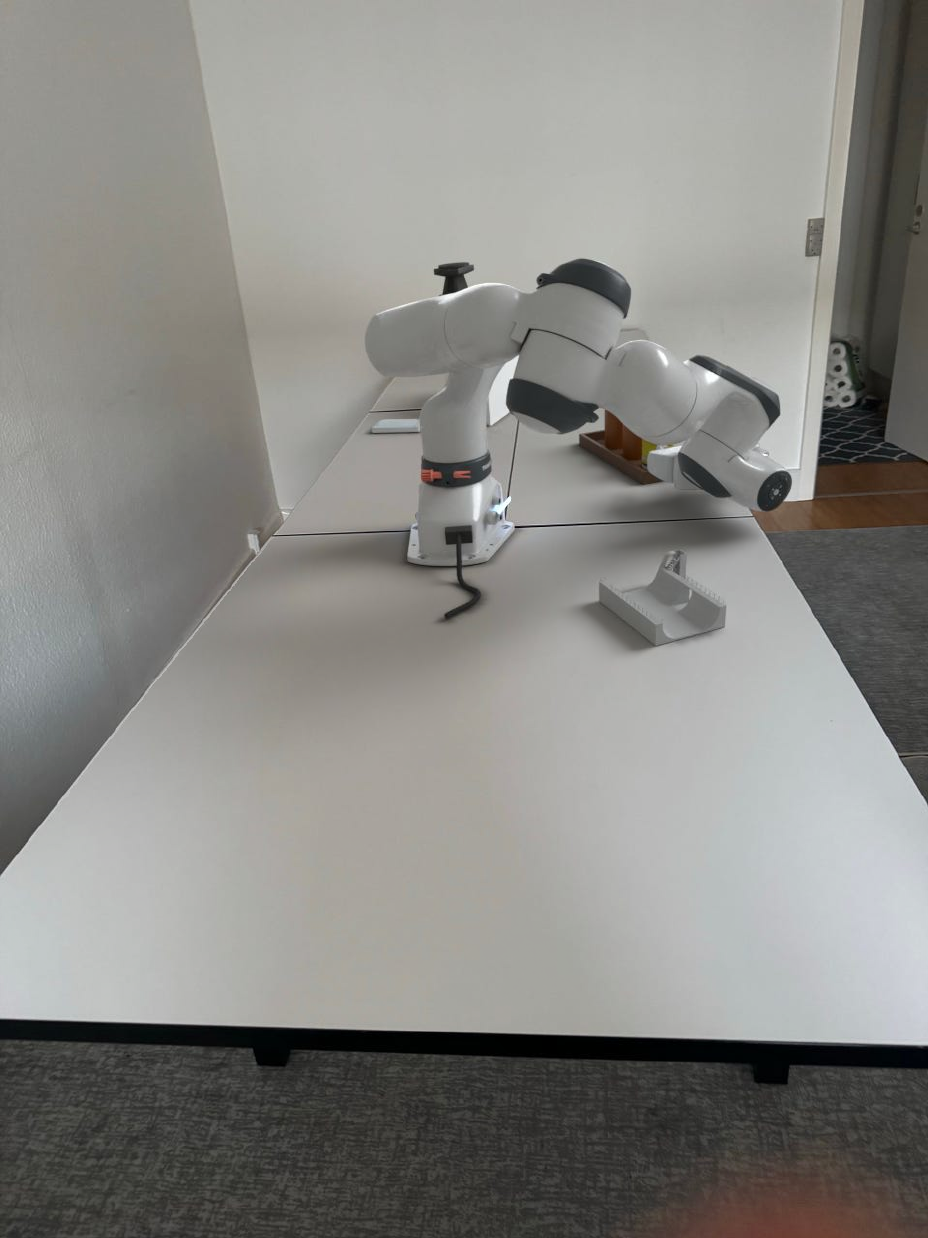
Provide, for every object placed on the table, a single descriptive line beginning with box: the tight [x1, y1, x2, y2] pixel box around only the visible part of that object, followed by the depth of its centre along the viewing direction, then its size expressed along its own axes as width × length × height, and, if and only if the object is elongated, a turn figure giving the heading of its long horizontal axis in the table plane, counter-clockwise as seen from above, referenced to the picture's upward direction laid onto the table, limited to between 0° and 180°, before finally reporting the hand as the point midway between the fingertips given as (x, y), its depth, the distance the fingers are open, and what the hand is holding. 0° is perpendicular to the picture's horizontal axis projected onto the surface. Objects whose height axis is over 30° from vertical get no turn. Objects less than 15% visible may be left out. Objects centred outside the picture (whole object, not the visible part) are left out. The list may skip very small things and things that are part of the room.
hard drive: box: [371, 418, 421, 434], centre depth 216 cm, size 2×8×12 cm
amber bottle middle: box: [623, 424, 642, 460], centre depth 175 cm, size 6×6×12 cm
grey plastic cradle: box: [598, 548, 727, 647], centre depth 115 cm, size 15×13×5 cm
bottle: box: [433, 261, 475, 296], centre depth 294 cm, size 18×16×30 cm
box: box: [444, 355, 519, 427], centre depth 225 cm, size 20×40×14 cm, turn 3°
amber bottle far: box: [604, 409, 623, 449], centre depth 182 cm, size 6×6×12 cm
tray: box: [578, 429, 664, 485], centre depth 177 cm, size 32×13×2 cm, turn 16°
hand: (682, 445), depth 158 cm, fingers open, 8 cm apart
